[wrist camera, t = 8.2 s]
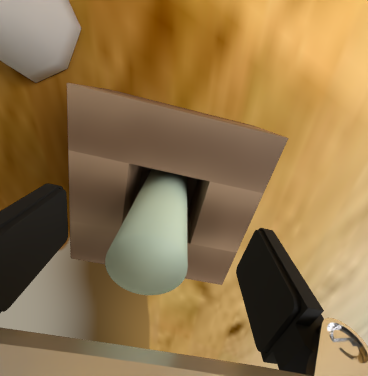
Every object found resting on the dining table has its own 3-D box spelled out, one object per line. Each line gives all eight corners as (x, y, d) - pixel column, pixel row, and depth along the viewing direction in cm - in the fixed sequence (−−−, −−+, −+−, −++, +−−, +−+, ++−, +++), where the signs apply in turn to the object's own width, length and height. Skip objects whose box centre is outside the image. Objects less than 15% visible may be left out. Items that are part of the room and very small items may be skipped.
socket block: (110, 89, 15) (66, 82, 10) (253, 125, 16) (288, 138, 10) (102, 215, 20) (70, 258, 14) (212, 236, 21) (221, 284, 15)
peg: (152, 156, 16) (108, 225, 7) (191, 165, 16) (196, 243, 7) (146, 191, 18) (102, 287, 8) (182, 199, 18) (177, 300, 9)
